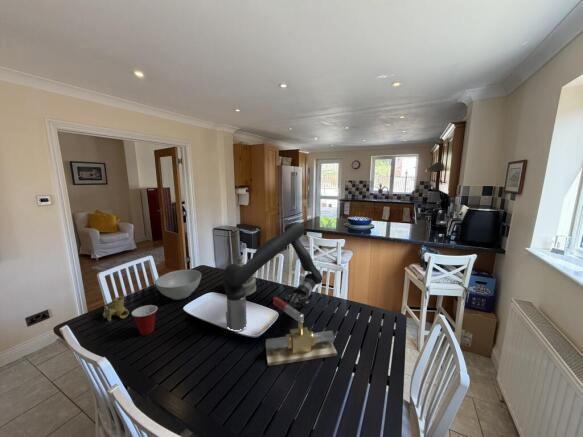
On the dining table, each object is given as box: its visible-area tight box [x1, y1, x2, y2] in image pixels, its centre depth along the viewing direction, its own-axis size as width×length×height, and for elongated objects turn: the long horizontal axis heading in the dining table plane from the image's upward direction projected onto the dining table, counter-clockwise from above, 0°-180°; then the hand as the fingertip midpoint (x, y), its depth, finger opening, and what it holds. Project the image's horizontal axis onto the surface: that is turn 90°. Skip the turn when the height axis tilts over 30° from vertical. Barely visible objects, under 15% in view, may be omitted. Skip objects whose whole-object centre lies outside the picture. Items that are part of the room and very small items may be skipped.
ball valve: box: [102, 296, 130, 322], centre depth 128 cm, size 13×10×10 cm
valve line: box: [265, 322, 335, 354], centre depth 102 cm, size 30×7×13 cm, turn 101°
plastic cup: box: [131, 304, 158, 336], centre depth 115 cm, size 11×11×12 cm
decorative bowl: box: [154, 269, 202, 301], centre depth 151 cm, size 27×27×12 cm
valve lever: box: [272, 296, 305, 324], centre depth 108 cm, size 20×3×3 cm, turn 40°
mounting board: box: [265, 342, 338, 367], centre depth 104 cm, size 30×12×3 cm, turn 101°
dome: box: [236, 254, 257, 297], centre depth 156 cm, size 20×25×20 cm
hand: (289, 308), depth 109 cm, fingers closed
